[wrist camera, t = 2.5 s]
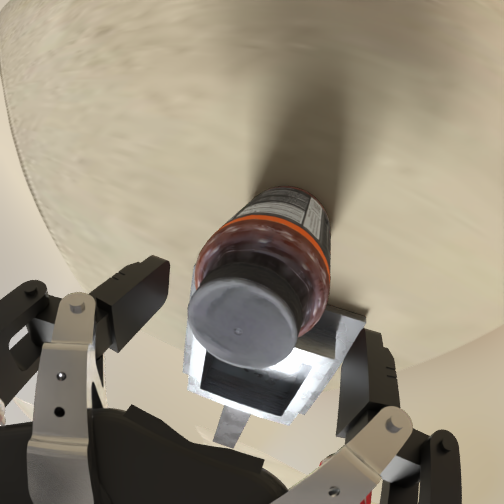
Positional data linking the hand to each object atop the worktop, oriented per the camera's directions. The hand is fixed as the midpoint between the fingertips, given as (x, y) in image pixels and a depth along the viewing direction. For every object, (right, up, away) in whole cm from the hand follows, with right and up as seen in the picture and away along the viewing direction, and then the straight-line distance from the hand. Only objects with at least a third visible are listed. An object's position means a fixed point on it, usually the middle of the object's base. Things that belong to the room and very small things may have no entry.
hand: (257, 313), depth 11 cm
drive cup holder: (-1, -12, +17) cm, 21 cm away
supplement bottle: (+2, +4, +9) cm, 10 cm away
